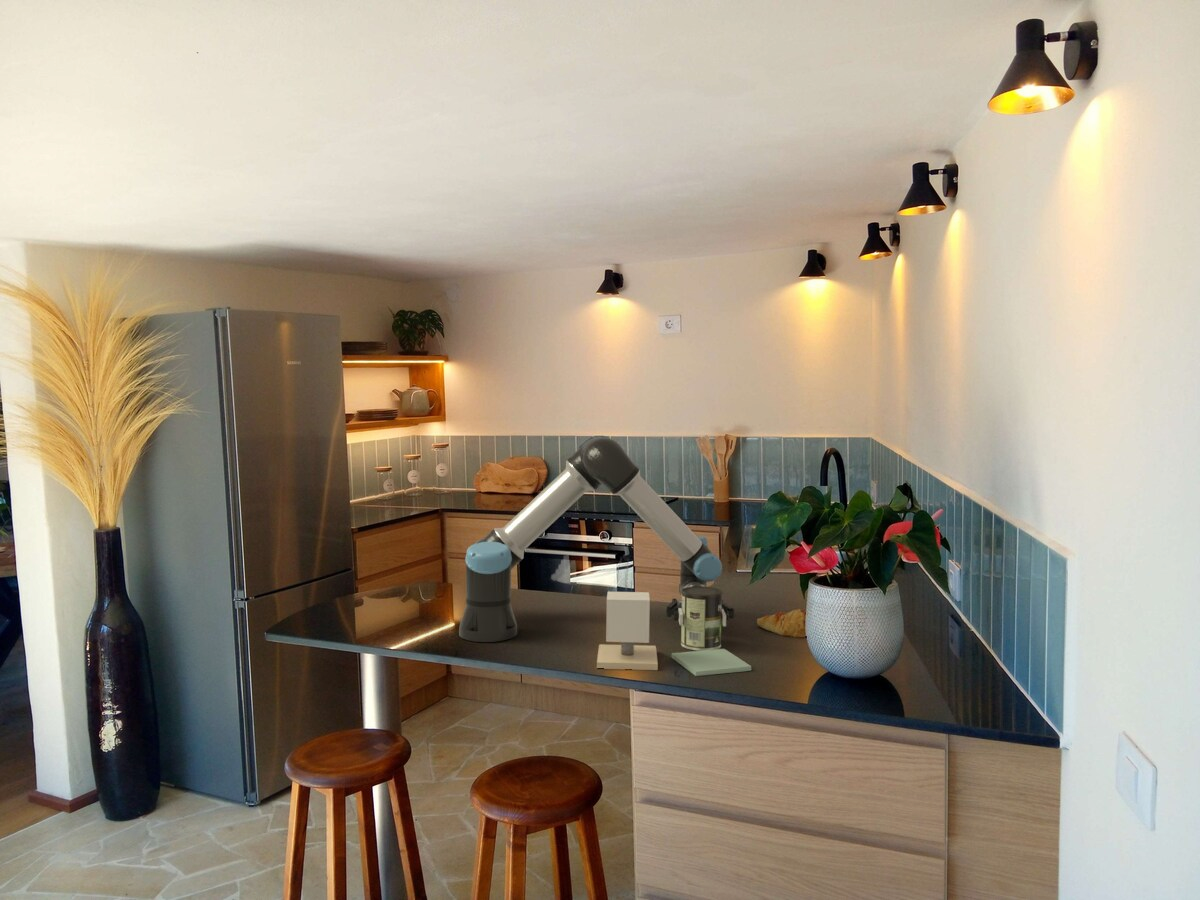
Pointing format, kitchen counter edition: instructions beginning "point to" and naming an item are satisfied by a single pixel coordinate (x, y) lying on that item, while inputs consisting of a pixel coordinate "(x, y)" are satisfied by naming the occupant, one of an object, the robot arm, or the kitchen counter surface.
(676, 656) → the sage mat
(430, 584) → the kitchen counter surface
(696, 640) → the coffee can
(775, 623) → the croissant
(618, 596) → the mounted unit
